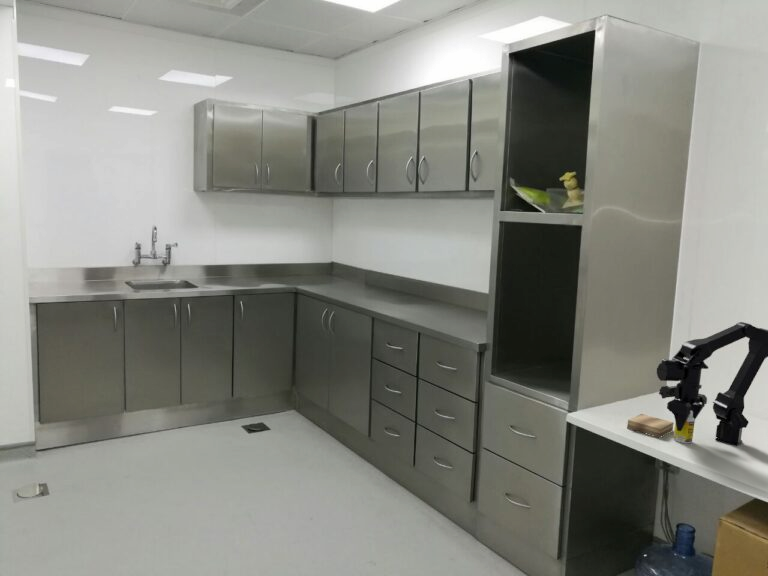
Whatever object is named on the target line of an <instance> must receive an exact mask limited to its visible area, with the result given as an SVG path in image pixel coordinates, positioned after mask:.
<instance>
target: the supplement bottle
mask: <svg viewBox="0 0 768 576" xmlns="http://www.w3.org/2000/svg"><path fill="white" fill-rule="evenodd" d="M690 413H691V414H690V415H689V417H688V419H687V421H686V423H685V425H684V427H683V429H682V430H681V431H678V430H677V426H676V421H675V422H674V423H675V424H674V428H673V440H674V441H676V442H678V443H680V442H681V444H686V443H687V444H691V443H692V442H693V437H694V432H695V431H694V430H695V423H696V419H694V418H693V411H690Z"/></svg>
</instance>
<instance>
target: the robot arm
mask: <svg viewBox="0 0 768 576" xmlns="http://www.w3.org/2000/svg"><path fill="white" fill-rule="evenodd" d="M744 338H746V339H749V340H748V343H747V344H748V352H747V354H746V356H745V358H744V360H743V362H742V364H741V366H740V368H739V369H738V371H737V373H736V375H735V377H734V378H733V381H732V382H731V384H730V386H729V388H728V389H727V391H725V392H720V391H719V392H718V393H717V395H716V398H715V399H714V400H713V401H712V403H713V404H712V409H713V413H714V414H715V418H716V419H717V420H719V422H718V424H717V425H716V429H715V430H716V432H715V441H717V442H721V443H723V444H728V445H730V446H731V445H732V446H735V447H737V446H739V445H740V444H741V443H743V440H742V435H743V434H742V433H743V429H746V428H747V427H748V425H749V420H748V419H747V418H746V417H745V415H744V414H743V412H744V409H745V396H746V395H747V393H748V391H749V389H750V387H751V386H752V383H753V381H754V380H755V378H756V376H757V374H758V372H760V369H761V366H762V365H763V363H764V361H765V360H766V359H767V358H768V329H765V328H762V327H757V326H754V325H752V324H751V323H747V322H743V321H740V322H737V323H736V324H734V325H732V326H730V327H727V328H725V329H723V330H721V331H718V332H716V333H715V334H712V335H710V336H708V337H704V338H698V339H697V338H695V339H692V340H688V341H685V342H683V343H682V344H681V346H680V348H679V350H678V351H677V352H676V354H674V356H673V357H672V358H671V359H667V358H663V359H661V362H660V363H659V364H658V366H657V367H656V376H657V378H658V379H659V380H660V381H661V382H663V381H664V382H665V381H666V382H678V383H676V385H671V386H669V385H663V386H661V387H660V388H659V392H658V395H660V396H661V399H666V398H673V399H671V400H669V401H668V402H667V403H666V409H667V410H668V411H669V412H670V413H672V414H673V417H674V420H675V421H676V426H677V430H678V431H681V430H682V429H683V427H684V425H685V423H686V421H687V419H688V417H689V415H690V414H691V413H690V411H693V418H694V419H695V420H696V419H697V417H698V416H699V415H700V413H701V412H702V410H703V409H704V407H705V405H707V403H708V397H707V396H706V394H702V393H700V390H701V389H702V384H701V376H702V370H704V369H705V370H708V369H709V366H708V365H707V364H706V363H705V361H706V360H707V359H708V358H711V356H712V355H713V353H714V352H716V351H717V350H720V349H722V348H724V347H726V346H728V345H731V344H733V343H735V342H737V341H740V340H741V339H744Z"/></svg>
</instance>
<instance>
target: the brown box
mask: <svg viewBox="0 0 768 576" xmlns="http://www.w3.org/2000/svg"><path fill="white" fill-rule="evenodd" d="M674 423H675V422H673V421H671V420H670V421H669V420H666V419H663V418H658V417H654V416H652V415H648V414H643V413H640V414H637V415H636V416H634V417H631V418H629V419H628V420H627V427H626V428H627V429H628V430H631V429H632V430H631V431H634V430H636V431H635V432H638V431H639V433H641V432H643V433H642V434H645V433H647V434H646V435H648V434H650V435H649V436H652V435H654V436H653V437H655V436H657V437H656V438H659V437H660V438H662V437H664V436H666V435H668V434H670V433H672V432H674ZM671 431H672V432H671ZM669 432H670V433H669ZM667 433H668V434H667ZM665 434H666V435H665ZM663 435H664V436H663ZM661 436H662V437H661Z"/></svg>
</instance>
